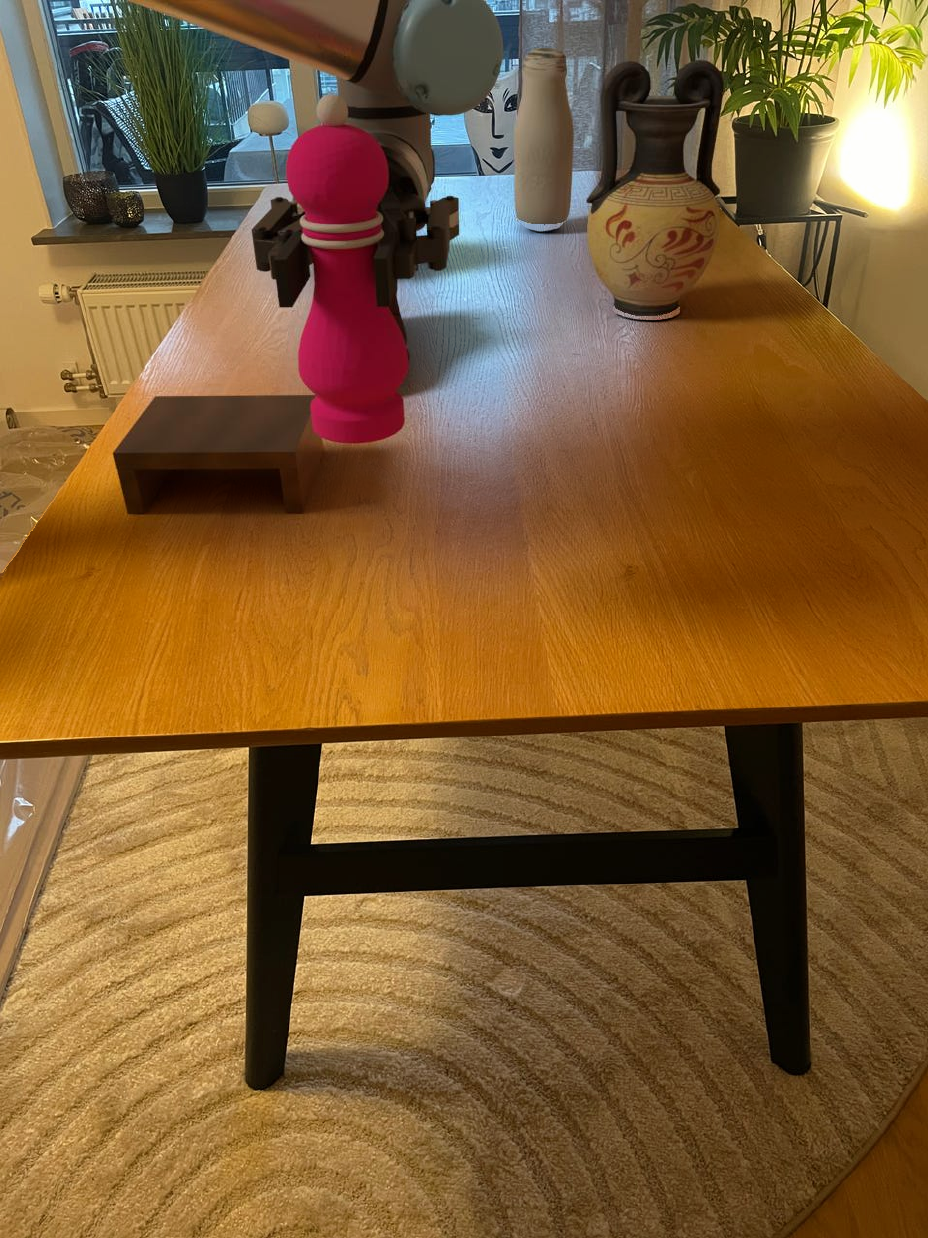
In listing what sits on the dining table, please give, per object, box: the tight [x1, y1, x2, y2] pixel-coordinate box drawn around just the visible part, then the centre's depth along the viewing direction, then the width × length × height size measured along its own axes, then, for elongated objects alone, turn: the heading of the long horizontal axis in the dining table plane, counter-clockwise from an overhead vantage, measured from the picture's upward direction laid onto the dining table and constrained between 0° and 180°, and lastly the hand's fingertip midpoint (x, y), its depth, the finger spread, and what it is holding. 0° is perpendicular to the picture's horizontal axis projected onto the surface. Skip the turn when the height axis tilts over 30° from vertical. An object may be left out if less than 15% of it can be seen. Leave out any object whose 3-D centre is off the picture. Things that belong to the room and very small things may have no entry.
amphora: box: [586, 59, 725, 316], centre depth 125 cm, size 18×17×30 cm
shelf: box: [112, 394, 325, 515], centre depth 91 cm, size 16×13×6 cm
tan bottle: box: [513, 47, 575, 225], centre depth 164 cm, size 10×10×28 cm
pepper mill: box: [285, 93, 410, 445], centre depth 60 cm, size 7×7×20 cm
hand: (332, 283), depth 55 cm, fingers closed on pepper mill, 5 cm apart
